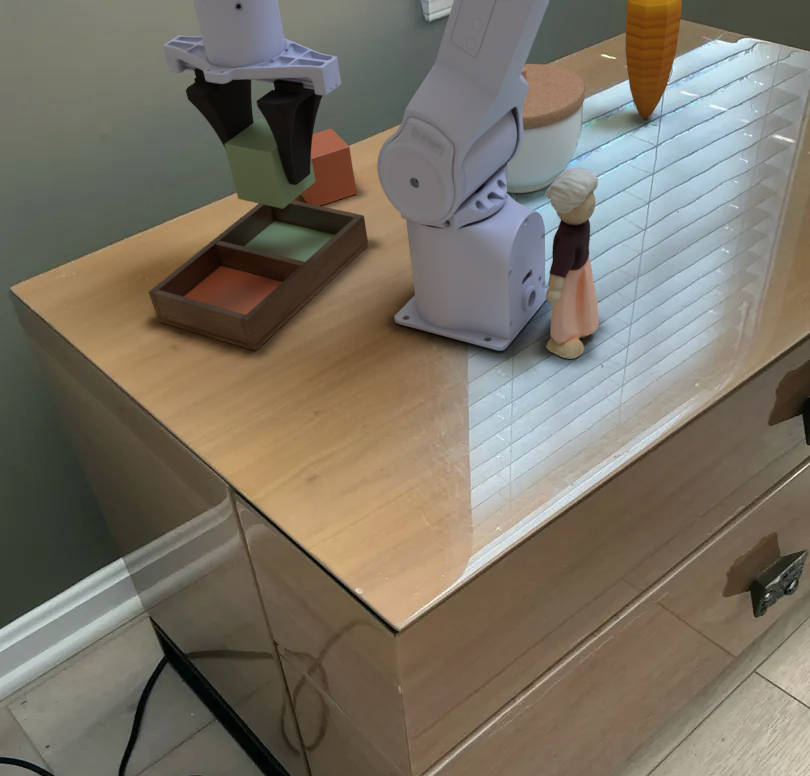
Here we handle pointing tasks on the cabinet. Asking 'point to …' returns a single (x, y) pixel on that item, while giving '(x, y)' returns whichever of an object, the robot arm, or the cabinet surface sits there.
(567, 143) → the trinket box
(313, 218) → the sorting tray
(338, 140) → the terracotta block
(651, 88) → the carrot
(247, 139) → the sage block
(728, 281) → the cabinet surface
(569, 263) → the grandmother figurine
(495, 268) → the robot arm
